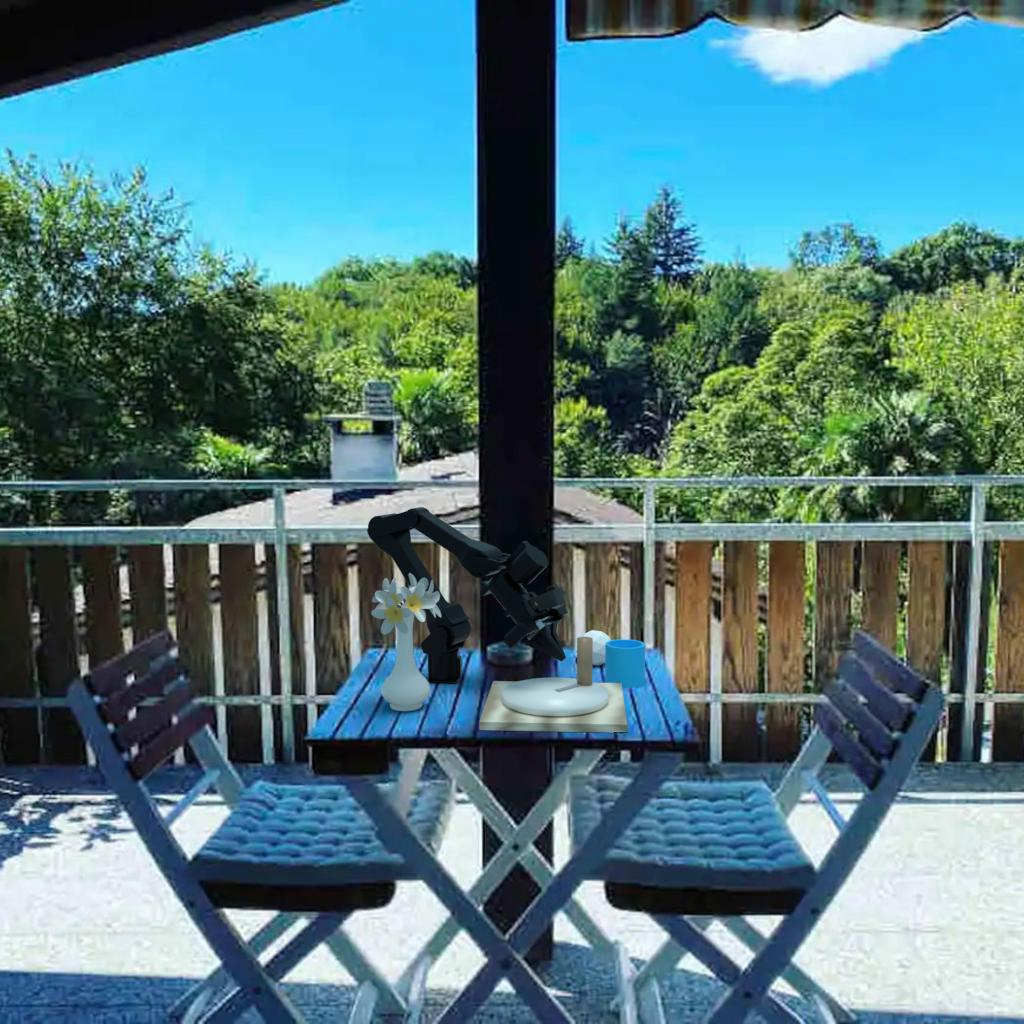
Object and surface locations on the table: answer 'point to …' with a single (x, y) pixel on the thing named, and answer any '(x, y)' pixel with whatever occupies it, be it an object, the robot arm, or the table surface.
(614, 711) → the dial board
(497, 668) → the table surface
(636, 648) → the mug
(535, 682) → the dial
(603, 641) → the ball
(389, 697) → the flower vase
